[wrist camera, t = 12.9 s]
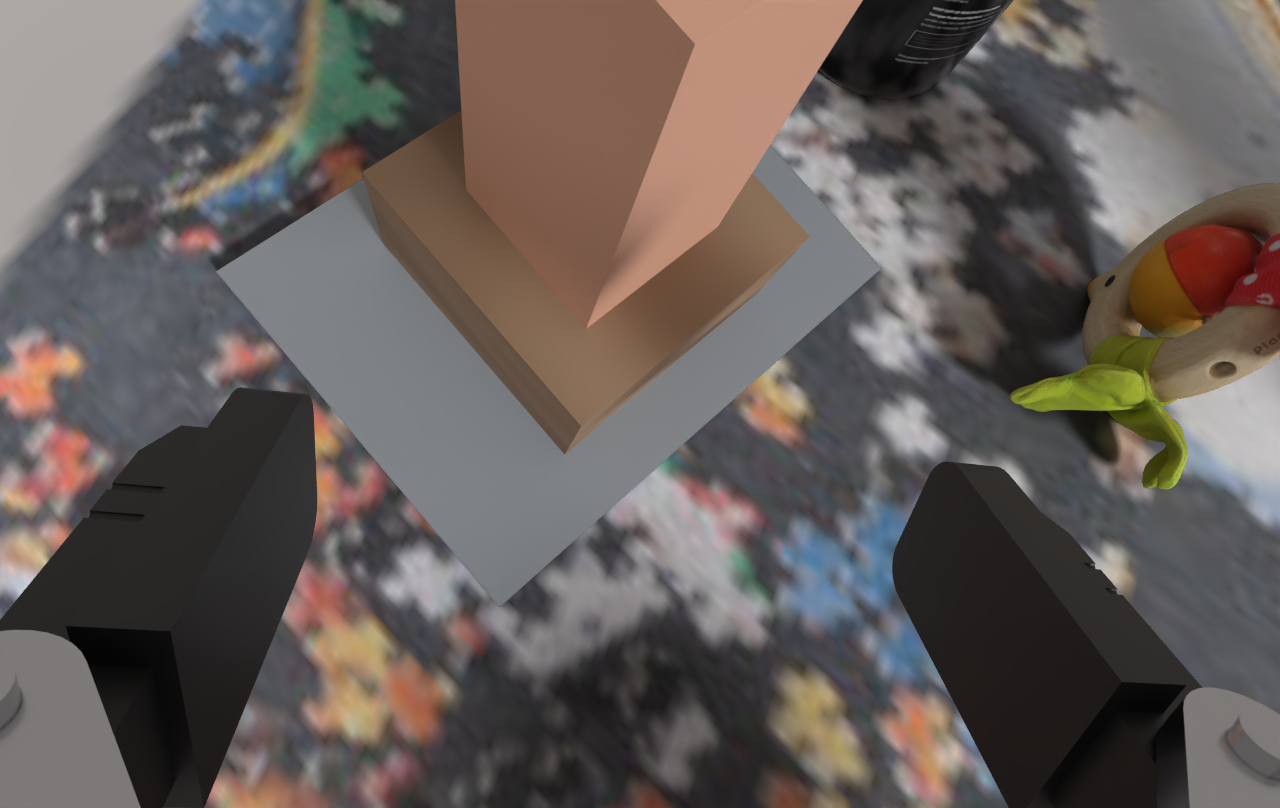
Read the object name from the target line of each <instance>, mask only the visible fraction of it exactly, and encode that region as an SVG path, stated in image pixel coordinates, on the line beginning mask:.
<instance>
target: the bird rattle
mask: <svg viewBox="0 0 1280 808" xmlns="http://www.w3.org/2000/svg"><path fill="white" fill-rule="evenodd" d="M1088 296H1089V299H1090V301H1091V302H1090V305H1089V307H1088V310H1087V313H1086V317H1085V321H1084V325H1083V332H1082V342H1083V349H1084V353H1085V357H1086V360H1087V362H1088V364H1089V365H1088V366H1085V367H1083V368H1082V369H1081V370H1079V371H1077V372H1074V373H1070V374H1067V375H1064V376H1060V377H1052V378H1047V379H1044V380H1042V381H1039V382H1037V383H1034V384H1030V385H1027V386H1024V387H1021V388H1019V389H1016V390H1014V391H1013V392H1012V393H1011V394H1010V399H1011V401H1012V402H1013V403H1016V404H1020V405H1021V406H1023V407H1024V408H1028V409H1033V410H1035V411H1039V412H1047V411H1051V410H1093V411H1107V412H1108V413H1109V414H1110V415H1111V416H1112V417H1113V418H1114V419H1115V420H1116V421H1117V422H1118V423H1120V424H1121V425H1123V426H1125V427H1126V428H1128V429H1130V430H1132V431H1134V432H1135V433H1137V434H1138V435H1140V436H1141V437H1143V438H1145V439H1147V440H1153V441H1157V442H1163V443H1165V444H1166V447H1165V448H1164V449H1163V450H1162V451H1161V452H1159V453H1158V454H1156V455H1155V456H1154V457H1153V458H1152V459H1151V460H1150V461H1149V462H1148V463H1147V465H1146V466H1145V468H1144V472H1143V479H1142V484H1143V487H1145V488H1153V487H1155V486H1157V487H1158V488H1161V489H1170V488H1172V487H1173V486H1175V485H1176V483H1177V482H1178V480H1179V478H1180V476H1181V473H1182V471H1183V469H1184V466H1185V464H1186V460H1187V450H1188V449H1187V445H1186V442H1185V439H1184V434H1183V430H1182V428H1181V426H1180V425H1179V423H1178V422H1177V421H1175V420H1174V419H1173V418H1172V417H1171V416H1170V415H1169V414H1168V413H1167V412H1166V411H1165V409H1164V408H1163V406H1165V405H1167V404H1169V403H1172V402H1173V401H1175V400H1177V399H1181V398H1186V397H1191V396H1195V395H1199V394H1202V393H1206V392H1209V391H1212V390H1215V389H1218V388H1220V387H1223V386H1225V385H1227V384H1230V383H1232V382H1234V381H1236V380H1238V379H1240V378H1242V377H1244V376H1246V375H1248V374H1250V373H1252V372H1254V371H1256V370H1258V369H1259V368H1261V367H1263V366H1264V365H1266V364H1267V363H1269V362H1270V361H1272V360H1273V359H1275V358H1276V357H1278V356H1279V355H1280V184H1277V183H1263V184H1257V185H1252V186H1247V187H1243V188H1240V189H1236V190H1233V191H1230V192H1227V193H1224V194H1221V195H1219V196H1216V197H1214V198H1211V199H1208V200H1206V201H1204V202H1202V203H1200V204H1198V205H1196V206H1194V207H1193V208H1191V209H1189V210H1187V211H1185V212H1184V213H1182V214H1180V215H1179V216H1177V217H1176V218H1174V219H1173V220H1171V221H1170V222H1168V223H1167V224H1165V225H1164V226H1162V227H1161V228H1159V229H1158V230H1157V231H1155V232H1154V233H1153V234H1152V235H1150V236H1149V237H1148V238H1147V239H1145V240H1144V241H1143V242H1142V243H1140V244H1139V245H1138V246H1137V247H1136V248H1135V249H1134V250H1133V251H1132V252H1131V253H1130V254H1128V255H1127V256H1126V257H1125V258H1124V259H1123V260H1122V261H1121V262H1120V263H1119V264H1118V265H1117V266H1116V267H1114V268H1113V269H1111V270H1110V271H1108V272H1107V273H1105V274H1103V275H1101V276H1099V277H1097V278H1095V279H1094V280H1093V281H1092V282H1091V283H1090V284H1089V286H1088ZM1141 326H1143V327H1144V328H1145V329H1146V330H1148V331H1149V332H1151V333H1152V334H1154V335H1155V336H1157V337H1159V338H1152V337H1139V334H1140V329H1141Z"/></svg>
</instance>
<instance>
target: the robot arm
mask: <svg viewBox="0 0 1280 808" xmlns="http://www.w3.org/2000/svg"><path fill="white" fill-rule="evenodd" d="M316 513H317V481H316V457H315V434H314V412H313V404H312V400H311V398H310V396H309V395H307V394H300V393H290V392H280V391H271V390H261V389H251V388H241V387H240V388H237V389H236V390H235V391H234V392H233V393H232V394H231V396H230V397H229V398H228V400H227V401H226V403H225V404H224V405H223V407H222V408H221V409H220V411H219V412H218V414H217V415H216V416H215V418H214V419H213V421H212V422H211V423H210V425H209V426H208V428H203V427H192V426H180V427H178V428H176V429H175V430H173V431H171V432H170V433H168V434H166V435H164V436H163V437H161V438H159V439H158V440H156V441H154V442H153V443H151V444H149V445H148V446H146V447H144V448H142V449H141V450H139V451H138V452H137V454H136V455H135V456H134V457H133V458H132V460H131V461H130V462H129V463H128V465H127V466H126V467H125V468H124V469H123V471H122V472H121V473H120V474H119V476H118V477H117V478H116V479H115V480H114V482H113V486H112V489H111V490H108V489H107V490H106V491H105V493H104V494H103V495H102V496H101V498H100V499H99V500H98V501H97V502H96V504H95V505H94V506H93V507H92V509H91V510H90V515H89V518H83V519H82V521H81V522H80V523H79V524H78V526H77V527H76V528H75V529H74V530H73V532H72V533H71V534H70V535H69V537H68V538H67V539H66V540H65V541H64V543H63V544H62V545H61V546H60V548H59V549H58V550H57V551H56V552H55V554H54V555H53V556H52V557H51V559H50V560H49V561H48V562H47V563H46V565H45V566H44V567H43V568H42V570H41V571H40V572H39V573H38V574H37V576H36V577H35V578H34V579H33V581H32V582H31V583H30V584H29V585H28V587H27V588H26V589H25V590H24V592H23V593H22V594H21V595H20V596H19V598H18V599H17V600H16V601H15V603H14V604H13V605H12V606H11V607H10V609H9V610H8V611H7V612H6V614H5V615H4V616H3V617H2V618H1V620H0V808H204V807H205V804H206V802H207V799H208V797H209V794H210V792H211V789H212V787H213V784H214V782H215V780H216V777H217V775H218V772H219V770H220V767H221V765H222V762H223V760H224V757H225V755H226V752H227V750H228V748H229V745H230V743H231V740H232V738H233V735H234V733H235V730H236V728H237V725H238V723H239V720H240V718H241V716H242V713H243V711H244V708H245V706H246V703H247V701H248V698H249V696H250V693H251V691H252V689H253V686H254V684H255V681H256V679H257V676H258V674H259V671H260V669H261V666H262V664H263V661H264V659H265V657H266V654H267V652H268V649H269V647H270V644H271V642H272V639H273V637H274V634H275V632H276V629H277V627H278V625H279V622H280V620H281V617H282V615H283V612H284V610H285V607H286V605H287V602H288V600H289V597H290V595H291V593H292V590H293V588H294V585H295V583H296V580H297V578H298V575H299V573H300V570H301V568H302V566H303V563H304V561H305V558H306V556H307V553H308V550H309V548H310V544H311V541H312V537H313V533H314V527H315V521H316ZM892 571H893V580H894V585H895V588H896V591H897V594H898V596H899V598H900V600H901V602H902V603H903V605H904V607H905V609H906V611H907V613H908V615H909V617H910V619H911V621H912V623H913V625H914V627H915V628H916V630H917V632H918V634H919V636H920V638H921V640H922V642H923V644H924V646H925V648H926V650H927V651H928V653H929V655H930V657H931V659H932V661H933V663H934V665H935V667H936V669H937V671H938V673H939V675H940V676H941V678H942V680H943V682H944V684H945V686H946V688H947V690H948V692H949V694H950V696H951V698H952V699H953V701H954V703H955V705H956V707H957V709H958V711H959V713H960V715H961V717H962V719H963V721H964V723H965V724H966V726H967V728H968V730H969V732H970V734H971V736H972V738H973V740H974V742H975V744H976V746H977V747H978V749H979V751H980V753H981V755H982V757H983V759H984V761H985V763H986V765H987V767H988V769H989V771H990V772H991V774H992V776H993V778H994V780H995V782H996V784H997V786H998V788H999V790H1000V792H1001V794H1002V795H1003V797H1004V799H1005V801H1006V803H1007V805H1008V807H1009V808H1280V715H1279V714H1278V713H1276V712H1275V711H1273V710H1271V709H1270V708H1268V707H1266V706H1264V705H1262V704H1260V703H1258V702H1256V701H1255V700H1252V699H1250V698H1248V697H1245V696H1243V695H1240V694H1237V693H1234V692H1231V691H1228V690H1223V689H1219V688H1209V687H1207V688H1202V687H1201V685H1200V684H1199V683H1198V682H1197V681H1196V680H1195V679H1194V677H1193V676H1192V675H1191V674H1190V673H1189V672H1188V670H1187V669H1186V668H1185V667H1184V666H1183V665H1182V663H1181V662H1180V661H1179V660H1178V659H1177V658H1176V657H1175V655H1174V654H1173V653H1172V652H1171V651H1170V650H1169V648H1168V647H1167V646H1166V645H1165V644H1164V643H1163V641H1162V640H1161V639H1160V638H1159V637H1158V636H1157V635H1156V633H1155V632H1154V631H1153V630H1152V629H1151V628H1150V626H1149V625H1148V624H1147V623H1146V622H1145V621H1144V619H1143V618H1142V617H1141V616H1140V615H1139V614H1138V612H1137V611H1136V610H1135V609H1134V608H1133V607H1132V606H1131V604H1130V603H1129V602H1128V601H1127V600H1126V599H1125V597H1124V596H1123V595H1117V593H1116V590H1117V588H1116V587H1115V586H1114V585H1113V584H1112V582H1111V581H1110V580H1109V579H1108V578H1107V577H1106V575H1105V574H1104V573H1103V572H1102V571H1101V570H1098V569H1095V563H1094V562H1093V560H1092V559H1091V558H1090V557H1089V556H1088V555H1087V553H1086V552H1085V551H1084V550H1083V549H1082V548H1081V546H1080V545H1079V544H1078V543H1077V542H1076V541H1075V539H1074V538H1073V537H1072V536H1071V535H1070V534H1069V533H1068V532H1067V531H1065V530H1064V529H1063V528H1061V527H1060V526H1059V525H1057V524H1056V523H1055V522H1053V521H1052V520H1051V519H1049V518H1048V517H1047V516H1045V515H1044V514H1043V513H1041V512H1040V511H1039V510H1038V508H1037V507H1036V506H1035V505H1034V504H1033V502H1032V501H1031V500H1030V499H1029V498H1028V497H1027V495H1026V494H1025V493H1024V492H1023V491H1022V489H1021V488H1020V487H1019V486H1018V485H1017V484H1016V482H1015V481H1014V480H1013V479H1012V478H1011V476H1010V475H1009V474H1008V473H1007V472H1006V471H1005V470H1003V469H1002V468H999V467H995V466H985V465H975V464H966V463H956V462H942V463H940V464H938V465H937V466H936V467H935V468H934V469H933V470H932V472H931V473H930V475H929V477H928V479H927V481H926V483H925V486H924V488H923V490H922V492H921V494H920V496H919V498H918V501H917V503H916V505H915V507H914V509H913V511H912V514H911V516H910V518H909V520H908V522H907V524H906V526H905V529H904V531H903V533H902V535H901V537H900V539H899V541H898V544H897V546H896V549H895V552H894V556H893V566H892Z"/></svg>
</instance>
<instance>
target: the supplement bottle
mask: <svg viewBox="0 0 1280 808" xmlns="http://www.w3.org/2000/svg"><path fill="white" fill-rule="evenodd" d="M1013 1H1014V0H863V1H862V2H861V4H860V5H859V7H858V9H857V10H856V12H855V13H854V15H853V16H852V18H851V19H850V21H849V23H848V24H847V26H846V27H845V29H844V30H843V32H842V34H841V35H840V37H839V38H838V40H837V41H836V43H835V44H834V46H833V48H832V49H831V51H830V52H829V54H828V55H827V57H826V59H825V60H824V62H823V63H822V65H821V66H820V68H819V69H818V70H819V71H821V72H822V73H823V74H824V75H825V76H827V77H828V78H829V79H831V80H832V81H834V82H835V83H837V84H838V85H840V86H842V87H844V88H846V89H848V90H850V91H853V92H855V93H858V94H861V95H864V96H868V97H873V98H881V99H899V98H906V97H911V96H914V95H918V94H920V93H923V92H925V91H927V90H929V89H931V88H932V87H934V86H936V85H937V84H938V83H940V82H941V81H942V80H943V79H944V78H945V77H946V76H947V75H948V74H949V73H950V72H951V71H952V70H953V69H954V68H955V67H956V66H957V65H958V64H959V62H960V61H961V60H962V59H963V58H964V57H965V56H966V55H967V54H968V52H969V51H970V50H971V49H972V48H973V47H974V46H975V44H976V43H977V42H978V41H979V40H980V39H981V37H982V36H983V35H984V34H985V33H986V32H987V31H988V29H989V28H990V27H991V26H992V25H993V24H994V22H995V21H996V20H997V19H998V18H999V17H1000V16H1001V14H1002V13H1003V12H1004V11H1005V10H1006V9H1007V8H1008V6H1009V5H1010V4H1011V3H1012V2H1013Z"/></svg>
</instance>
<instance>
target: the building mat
mask: <svg viewBox="0 0 1280 808" xmlns="http://www.w3.org/2000/svg"><path fill="white" fill-rule="evenodd" d="M752 173H753V174H754V175H755V176H756V177H757V179H758V180H759V181H760V182H761V183H762V184H763V185H764V186H765V187H766V189H767V190H768V191H769V192H770V193H771V194H772V195H773V196H774V197H775V199H776V200H777V201H778V202H779V203H780V204H781V205H782V206H783V207H784V209H785V210H786V211H787V212H788V213H789V214H790V215H791V216H792V217H793V219H794V220H795V221H796V222H797V223H798V224H799V225H800V226H801V228H802V229H803V230H804V231H805V232H806V233H807V234H808V235H809V236H810V237H809V238H808V239H807V240H806V241H805V242H804V243H803V244H802V245H801V246H800V247H799V249H798V250H797V251H796V252H795V253H794V254H793V255H792V256H791V257H790V258H789V259H788V260H787V262H786V263H785V264H784V265H783V266H782V267H781V268H780V269H779V270H778V271H777V272H776V274H775V275H774V276H773V277H772V278H771V279H770V280H769V281H768V282H767V283H766V284H765V285H764V287H763V288H762V289H761V290H760V291H759V292H758V293H757V294H756V295H754V296H753V297H752V298H751V299H750V300H748V301H747V302H746V303H745V304H744V305H743V306H741V307H740V308H739V309H738V310H737V311H735V312H734V313H733V314H732V315H731V316H729V317H728V318H727V319H726V320H725V321H723V322H722V323H721V324H720V325H719V326H717V327H716V328H715V329H714V330H713V331H712V332H710V333H709V334H708V335H707V336H706V337H704V338H703V339H702V340H701V341H700V342H698V343H697V344H696V345H695V346H694V347H692V348H691V349H690V350H689V351H688V352H686V353H685V354H684V355H683V356H682V357H681V358H679V359H678V360H677V361H676V362H675V363H673V364H672V365H671V366H670V367H669V368H667V369H666V370H665V371H664V372H663V373H661V374H660V375H659V376H658V377H657V378H655V379H654V380H653V381H652V382H651V383H650V384H648V385H647V386H646V387H645V388H644V389H642V390H641V391H640V392H639V393H638V394H636V395H635V396H634V397H633V398H632V399H630V400H629V401H628V402H627V403H626V404H624V405H623V406H622V407H621V408H620V409H619V410H617V411H616V412H615V413H614V414H613V415H611V416H610V417H609V418H608V419H607V420H605V421H604V422H603V423H602V424H601V425H599V426H598V427H597V428H596V429H595V430H593V431H592V432H591V433H590V434H589V435H588V436H586V437H585V438H584V439H583V440H582V441H580V442H579V443H578V444H577V445H576V446H574V447H573V448H572V449H571V450H570V451H568V452H567V453H566V454H564V453H563V452H562V451H561V450H560V449H559V447H558V446H557V445H556V444H555V443H554V442H553V441H552V439H551V438H550V437H549V436H548V435H547V434H546V432H545V431H544V430H543V429H542V428H541V427H540V425H539V424H538V423H537V422H536V421H535V420H534V418H533V417H532V416H531V415H530V414H529V413H528V412H527V410H526V409H525V408H524V407H523V406H522V405H521V403H520V402H519V401H518V400H517V399H516V398H515V396H514V395H513V394H512V393H511V392H510V391H509V389H508V388H507V387H506V386H505V385H504V384H503V382H502V381H501V380H500V379H499V378H498V377H497V376H496V374H495V373H494V372H493V371H492V370H491V369H490V367H489V366H488V365H487V364H486V363H485V362H484V360H483V359H482V358H481V357H480V356H479V355H478V353H477V352H476V351H475V350H474V349H473V348H472V346H471V345H470V344H469V343H468V342H467V341H466V340H465V338H464V337H463V336H462V335H461V334H460V333H459V331H458V330H457V329H456V328H455V327H454V326H453V324H452V323H451V322H450V321H449V320H448V319H447V317H446V316H445V315H444V314H443V313H442V312H441V310H440V309H439V308H438V307H437V306H436V305H435V304H434V302H433V301H432V300H431V299H430V298H429V297H428V295H427V294H426V293H425V292H424V291H423V290H422V288H421V287H420V286H419V285H418V284H417V283H416V281H415V280H414V279H413V278H412V277H411V276H410V274H409V273H408V272H407V271H406V270H405V269H404V268H403V266H402V265H401V264H400V263H399V262H398V261H397V259H396V258H395V257H394V256H393V255H392V254H391V252H390V251H389V250H388V249H387V248H386V247H385V245H384V243H383V240H382V237H381V234H380V230H379V227H378V224H377V221H376V218H375V214H374V211H373V208H372V205H371V201H370V198H369V195H368V192H367V188H366V185H365V182H364V179H362V180H360V181H359V182H357V183H355V184H354V185H352V186H351V187H349V188H348V189H346V190H344V191H343V192H341V193H340V194H338V195H336V196H335V197H333V198H332V199H330V200H329V201H327V202H325V203H324V204H322V205H321V206H319V207H317V208H316V209H314V210H313V211H311V212H310V213H308V214H306V215H305V216H303V217H302V218H300V219H298V220H297V221H295V222H294V223H292V224H291V225H289V226H287V227H286V228H284V229H283V230H281V231H279V232H278V233H276V234H275V235H273V236H272V237H270V238H268V239H267V240H265V241H264V242H262V243H260V244H259V245H257V246H256V247H254V248H253V249H251V250H249V251H248V252H246V253H245V254H243V255H241V256H240V257H238V258H237V259H235V260H234V261H232V262H230V263H229V264H227V265H226V266H224V267H222V268H221V269H219V270H218V271H216V272H217V273H218V274H219V276H220V277H221V278H222V279H223V280H224V282H225V283H226V284H227V285H228V286H229V287H230V289H231V290H232V291H233V292H234V293H235V295H236V296H237V297H238V298H239V299H240V301H241V302H242V303H243V304H244V305H245V306H246V308H247V309H248V310H249V311H250V312H251V314H252V315H253V316H254V317H255V318H256V319H257V321H258V322H259V323H260V324H261V325H262V327H263V328H264V329H265V330H266V331H267V332H268V334H269V335H270V336H271V337H272V338H273V340H274V341H275V342H276V343H277V344H278V345H279V347H280V348H281V349H282V350H283V351H284V353H285V354H286V355H287V356H288V357H289V359H290V360H291V361H292V362H293V363H294V364H295V366H296V367H297V368H298V369H299V370H300V372H301V373H302V374H303V375H304V376H305V377H306V379H307V380H308V381H309V382H310V383H311V385H312V386H313V387H314V388H315V389H316V390H317V392H318V393H319V394H320V395H321V396H322V398H323V399H324V400H325V401H326V402H327V404H328V405H329V406H330V407H331V408H332V409H333V411H334V412H335V413H336V414H337V415H338V417H339V418H340V419H341V420H342V421H343V422H344V424H345V425H346V426H347V427H348V428H349V430H350V431H351V432H352V433H353V434H354V435H355V437H356V438H357V439H358V440H359V441H360V443H361V444H362V445H363V446H364V447H365V448H366V450H367V451H368V452H369V453H370V454H371V456H372V457H373V458H374V459H375V460H376V462H377V463H378V464H379V465H380V466H381V467H382V469H383V470H384V471H385V472H386V473H387V475H388V476H389V477H390V478H391V479H392V480H393V482H394V483H395V484H396V485H397V486H398V488H399V489H400V490H401V491H402V492H403V493H404V495H405V496H406V497H407V498H408V499H409V501H410V502H411V503H412V504H413V505H414V506H415V508H416V509H417V510H418V511H419V512H420V514H421V515H422V516H423V517H424V518H425V520H426V521H427V522H428V523H429V524H430V525H431V527H432V528H433V529H434V530H435V531H436V533H437V534H438V535H439V536H440V537H441V538H442V540H443V541H444V542H445V543H446V544H447V546H448V547H449V548H450V549H451V550H452V551H453V553H454V554H455V555H456V556H457V557H458V559H459V560H460V561H461V562H462V563H463V565H464V566H465V567H466V568H467V569H468V570H469V572H470V573H471V574H472V575H473V576H474V578H475V579H476V580H477V581H478V582H479V583H480V585H481V586H482V587H483V588H484V589H485V591H486V592H487V593H488V594H489V595H490V596H491V598H492V599H493V600H494V601H495V602H496V604H497V605H498V606H499V607H500V606H501V605H502V604H504V603H505V602H506V601H507V600H508V599H509V598H510V597H512V596H513V595H514V594H515V593H516V592H517V591H518V590H519V589H521V588H522V587H523V586H524V585H525V584H526V583H527V582H528V581H530V580H531V579H532V578H533V577H534V576H535V575H536V574H537V573H539V572H540V571H541V570H542V569H543V568H544V567H545V566H546V565H548V564H549V563H550V562H551V561H552V560H553V559H554V558H555V557H557V556H558V555H559V554H560V553H561V552H562V551H563V550H564V549H566V548H567V547H568V546H569V545H570V544H571V543H572V542H574V541H575V540H576V539H577V538H578V537H579V536H580V535H581V534H583V533H584V532H585V531H586V530H587V529H588V528H589V527H590V526H592V525H593V524H594V523H595V522H596V521H597V520H598V519H599V518H601V517H602V516H603V515H604V514H605V513H606V512H607V511H608V510H610V509H611V508H612V507H613V506H614V505H615V504H616V503H617V502H619V501H620V500H621V499H622V498H623V497H624V496H625V495H626V494H628V493H629V492H630V491H631V490H632V489H633V488H634V487H635V486H637V485H638V484H639V483H640V482H641V481H642V480H643V479H645V478H646V477H647V476H648V475H649V474H650V473H651V472H652V471H654V470H655V469H656V468H657V467H658V466H659V465H660V464H661V463H663V462H664V461H665V460H666V459H667V458H668V457H669V456H670V455H672V454H673V453H674V452H675V451H676V450H677V449H678V448H679V447H681V446H682V445H683V444H684V443H685V442H686V441H687V440H688V439H690V438H691V437H692V436H693V435H694V434H695V433H696V432H697V431H699V430H700V429H701V428H702V427H703V426H704V425H705V424H706V423H708V422H709V421H710V420H711V419H712V418H713V417H714V416H716V415H717V414H718V413H719V412H720V411H721V410H722V409H723V408H725V407H726V406H727V405H728V404H729V403H730V402H731V401H732V400H734V399H735V398H736V397H737V396H738V395H739V394H740V393H741V392H743V391H744V390H745V389H746V388H747V387H748V386H749V385H750V384H752V383H753V382H754V381H755V380H756V379H757V378H758V377H759V376H761V375H762V374H763V373H764V372H765V371H766V370H767V369H768V368H770V367H771V366H772V365H773V364H774V363H775V362H776V361H777V360H779V359H780V358H781V357H782V356H783V355H784V354H785V353H787V352H788V351H789V350H790V349H791V348H792V347H793V346H794V345H796V344H797V343H798V342H799V341H800V340H801V339H802V338H803V337H805V336H806V335H807V334H808V333H809V332H810V331H811V330H812V329H814V328H815V327H816V326H817V325H818V324H819V323H820V322H821V321H823V320H824V319H825V318H826V317H827V316H828V315H829V314H830V313H832V312H833V311H834V310H835V309H836V308H837V307H838V306H839V305H841V304H842V303H843V302H844V301H845V300H846V299H847V298H848V297H850V296H851V295H852V294H853V293H854V292H855V291H856V290H858V289H859V288H860V287H861V286H862V285H863V284H864V283H865V282H867V281H868V280H869V279H870V278H871V277H872V276H873V275H874V274H876V273H877V272H878V271H879V270H880V269H881V267H880V266H879V265H878V264H877V262H876V261H875V260H874V259H873V258H872V257H871V256H870V255H869V254H868V252H867V251H866V250H865V249H864V248H863V247H862V246H861V245H860V244H859V242H858V241H857V240H856V239H855V238H854V237H853V236H852V235H851V234H850V233H849V231H848V230H847V229H846V228H845V227H844V226H843V225H842V224H841V223H840V221H839V220H838V219H837V218H836V217H835V216H834V215H833V214H832V213H831V211H830V210H829V209H828V208H827V207H826V206H825V205H824V204H823V203H822V201H821V200H820V199H819V198H818V197H817V196H816V195H815V194H814V193H813V192H812V190H811V189H810V188H809V187H808V186H807V185H806V184H805V183H804V182H803V180H802V179H801V178H800V177H799V176H798V175H797V174H796V173H795V172H794V170H793V169H792V168H791V167H790V166H789V165H788V164H787V163H786V162H785V161H784V159H783V158H782V157H781V156H780V155H779V154H778V153H777V152H776V151H775V149H774V148H773V147H772V146H771V145H770V146H769V148H768V149H767V151H766V152H765V154H764V155H763V157H762V158H761V160H760V162H759V163H758V165H757V166H756V168H755V169H754V171H753V172H752Z"/></svg>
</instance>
